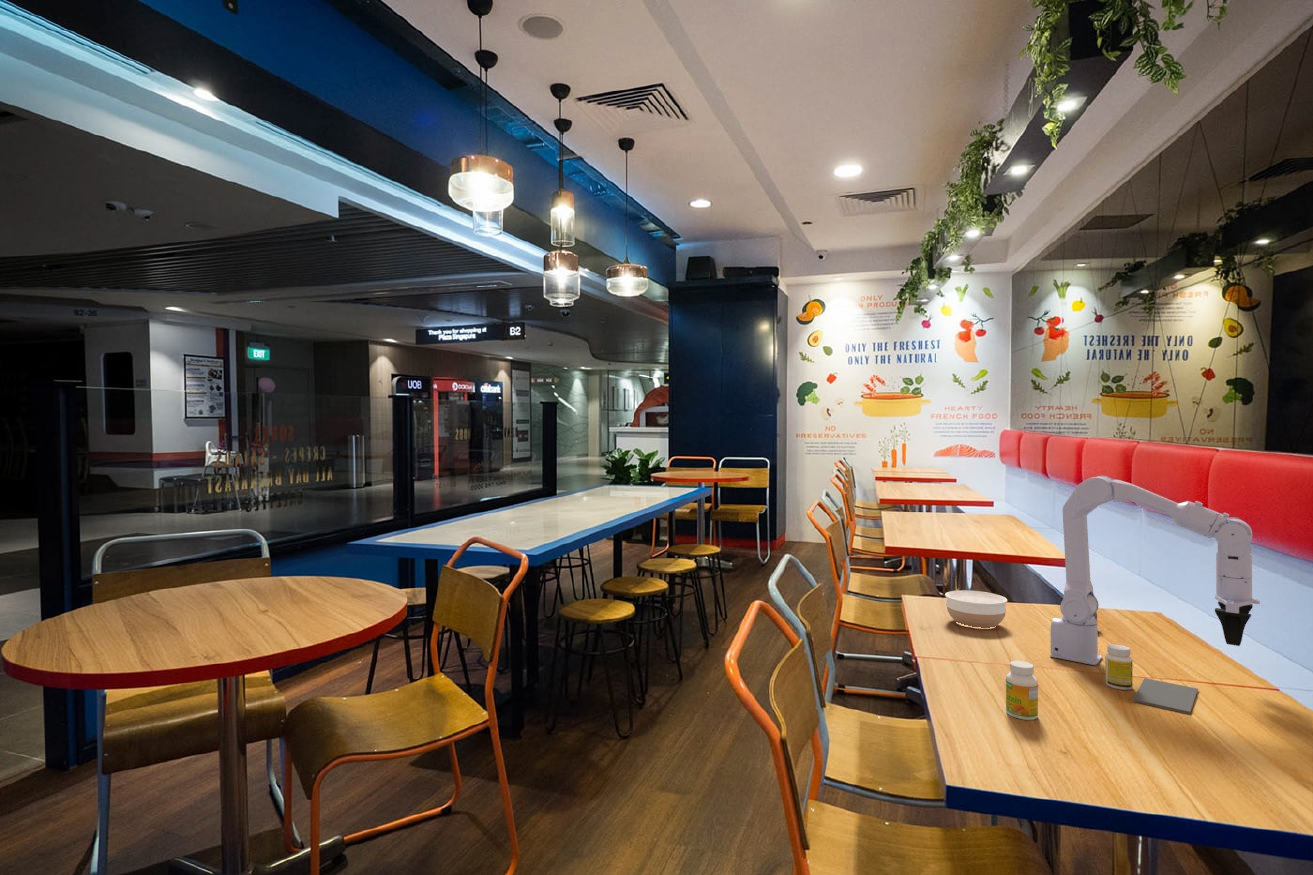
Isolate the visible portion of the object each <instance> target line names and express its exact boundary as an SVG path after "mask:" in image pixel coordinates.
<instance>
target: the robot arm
mask: <svg viewBox="0 0 1313 875" xmlns="http://www.w3.org/2000/svg"><path fill="white" fill-rule="evenodd" d="M1111 501H1113V502H1115V503H1116V502H1117V503H1118V502H1133V503H1135V504H1138V505H1140V506H1143V507H1146V508H1149V509H1151V510H1154V511H1156V512H1158V513H1162V514H1163V515H1164V514H1165V515H1168V516H1170V517H1171V518H1172V520H1173V522H1174V524H1175V525H1176V526H1179V527H1182V528H1183V529H1184V528H1185V529H1186V530H1188V531H1191V532H1194V533H1196V534H1198V535H1201V536H1203V537H1206V538H1214V539H1215V540H1216V542H1217V552H1216V554H1215V565H1216V566H1215V577H1216V578H1215V581H1216V582H1215V585H1216V587H1215V588H1216V590H1215V593H1216V594H1215V595H1214V598H1215V600H1216V601H1218V602H1217V604H1218V606H1219V607H1220V608H1217V607H1215V608H1214V613H1215V614H1216V616H1217V618H1218V619H1219V622H1220V624H1221V627H1222V631H1223V632H1222V633H1223V636H1224V640H1225V643H1226V645H1230V646H1236V647H1240V646H1241V644H1242V640H1243V637H1244V636H1243V635H1244V632H1245V631H1244V630H1245V627H1246V625H1247V623H1248V621H1249V620H1250V619H1251V617H1252V614H1251V613H1250V612H1251V611H1252V609H1253V604H1255V605H1260V603H1261V600H1260V599H1258V598H1254V597H1253V557H1252V555H1251V553H1252V546H1251V543H1252V540H1253V531H1252V527H1251V526H1250V525H1249V524H1248V523H1247V522H1245V521H1244V520H1242V519H1240V518H1239V517H1234V516H1233V517H1232V516H1231V517H1229V516H1230V514H1229V513H1226V512H1223V513H1220V512H1218V511H1216V510H1213V509H1210V508H1207V507H1206V506H1203V505H1204V503H1202V502H1201V501H1198V500H1196V501H1195V502H1192V501H1189V500H1187V501H1184V502H1183V501H1182V502H1180V503H1178V502H1176V501H1173V500H1171V499H1168V498H1167V497H1164V496H1162V495H1159V494H1157V493H1154V492H1152V491H1150V490H1147V489H1145V488H1142V487H1141V486H1138V485H1135V484H1133V483H1130V482H1128V481H1127V482H1126V481H1123V480H1120V479H1113V478H1111V477H1110V476H1106V475H1098V476H1093V477H1089V478H1086V479H1085V480H1084V481H1082V482H1080V483H1079V484H1077V485H1076V486H1075V488H1074V490H1073V492H1072V493H1071V494H1070V495H1069V497H1068V499H1067V500H1066V502H1065V503H1064V504H1063V507H1062V524H1063V526H1062V528H1063V541H1064V542H1063V543H1064V562H1065V585H1064V589H1063V599H1062V601H1061V602H1060V606H1059V607H1060V608H1059V609H1060V612H1061V615H1062V616H1061V617H1053V618H1052V620H1051V623H1050V654H1049V657H1050V658H1054V659H1055V658H1056V659H1061V660H1065V661H1070V662H1076V663H1081V664H1086V665H1090V666H1097V665H1098V664H1099V662H1100V661H1101V660H1102V659H1103V655H1101V654H1098V650H1099V649H1098V648H1099V647H1098V644H1099V643H1098V639H1099V638H1098V635H1099V634H1098V629H1099V628H1098V623H1099V622H1098V619H1097V620H1096V619H1095V617H1094V615H1093V614H1095V613H1096V612H1097V613H1098V610H1099V607H1100V606H1099V604H1100V603H1099V601H1098V598H1097V597H1096V596H1095V593H1094V587H1093V584H1092V581H1091V570H1090V569H1091V568H1090V566H1091V565H1090V550H1089V549H1090V548H1089V535H1088V534H1089V533H1088V532H1089V530H1088V515H1089V514H1090V513H1092V512H1093V511H1094V510H1095V509H1097V508H1098V507H1099V506H1101V505H1105V504H1106V503H1109V502H1111Z"/></svg>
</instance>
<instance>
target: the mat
mask: <svg viewBox="0 0 1313 875" xmlns="http://www.w3.org/2000/svg"><path fill="white" fill-rule="evenodd" d="M1198 690H1199V689H1198V688H1197V687H1191V686H1187V685H1183V684H1176V683H1172V682H1167V681H1161V680H1157V679H1152V678H1146V677H1144V679H1143V680H1142V682H1141V684H1140V686H1139V687H1138V689H1137V691H1136V693H1135V694H1134V696H1133V698H1132V703H1133V702H1134V703H1136V704H1141V705H1146V706H1150V707H1151V706H1152V707H1155V708H1160V709H1165V710H1169V711H1173V712H1178V713H1182V714H1187V715H1191V713H1192V710H1193V707H1194V704H1195V701H1196V699H1197V695H1198V692H1199V691H1198Z"/></svg>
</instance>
